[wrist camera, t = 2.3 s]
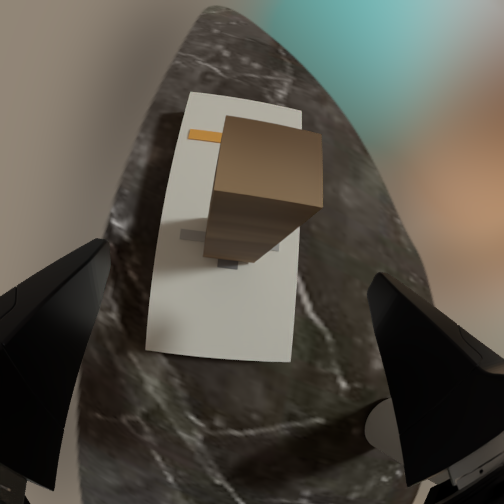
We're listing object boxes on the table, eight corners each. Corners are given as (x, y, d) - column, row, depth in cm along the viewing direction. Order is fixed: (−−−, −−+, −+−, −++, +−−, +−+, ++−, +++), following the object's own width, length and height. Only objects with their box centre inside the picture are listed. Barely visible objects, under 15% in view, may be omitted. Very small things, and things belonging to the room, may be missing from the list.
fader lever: (254, 262, 17) (322, 207, 8) (202, 256, 17) (213, 190, 7) (257, 222, 18) (321, 134, 8) (208, 215, 17) (225, 114, 8)
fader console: (279, 356, 19) (291, 362, 17) (151, 344, 18) (145, 350, 15) (291, 128, 23) (302, 110, 21) (189, 111, 22) (190, 90, 19)
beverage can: (393, 445, 19) (491, 491, 8) (352, 444, 19) (453, 508, 7) (412, 397, 21) (520, 424, 9) (373, 391, 20) (491, 429, 8)
